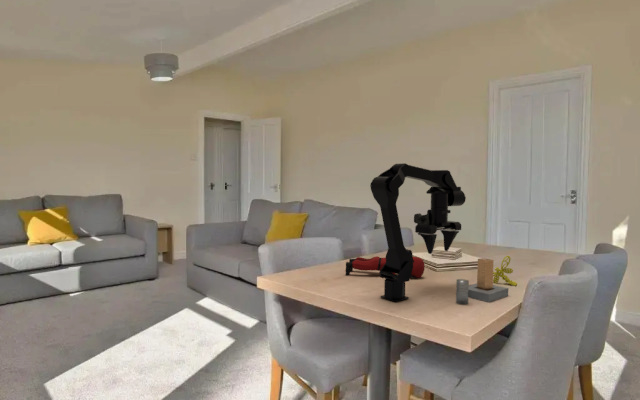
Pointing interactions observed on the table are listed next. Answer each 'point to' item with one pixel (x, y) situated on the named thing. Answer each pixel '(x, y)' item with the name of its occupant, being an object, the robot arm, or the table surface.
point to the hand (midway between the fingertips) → (438, 252)
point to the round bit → (462, 291)
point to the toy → (378, 263)
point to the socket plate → (487, 293)
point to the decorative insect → (502, 270)
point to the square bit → (485, 274)
